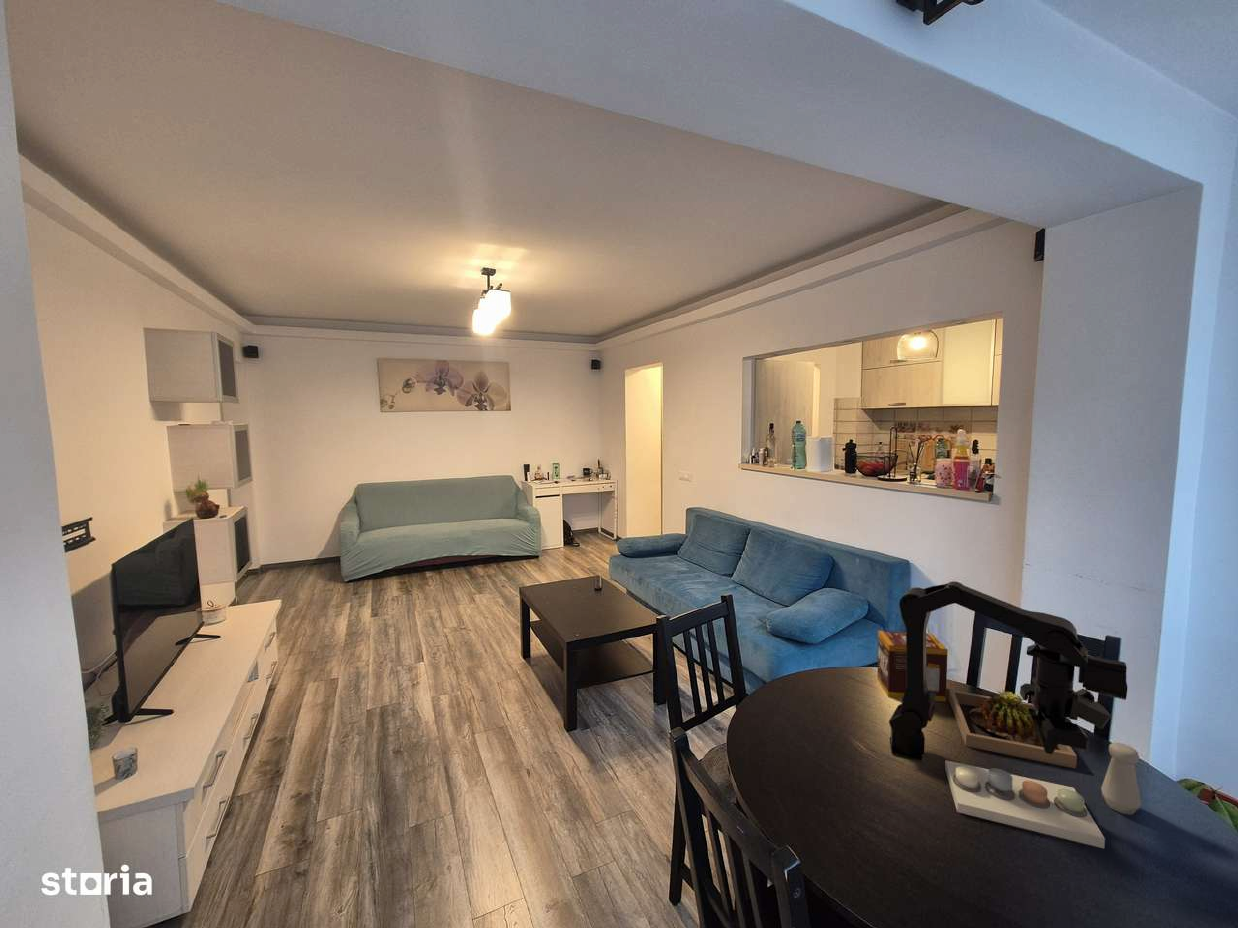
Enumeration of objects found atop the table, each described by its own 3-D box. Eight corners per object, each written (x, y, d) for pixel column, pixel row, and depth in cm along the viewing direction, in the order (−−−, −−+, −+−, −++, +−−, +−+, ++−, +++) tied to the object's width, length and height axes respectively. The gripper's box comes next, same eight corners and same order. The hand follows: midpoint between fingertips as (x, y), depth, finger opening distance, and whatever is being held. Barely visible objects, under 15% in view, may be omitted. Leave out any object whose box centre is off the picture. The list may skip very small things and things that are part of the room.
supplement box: (876, 678, 156) (877, 629, 155) (931, 683, 153) (933, 633, 152) (887, 697, 146) (888, 644, 145) (946, 702, 143) (948, 648, 141)
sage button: (1061, 809, 100) (1062, 799, 100) (1054, 795, 104) (1054, 786, 104) (1087, 815, 99) (1088, 805, 99) (1079, 800, 102) (1079, 791, 102)
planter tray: (965, 746, 124) (966, 734, 123) (949, 699, 144) (949, 689, 144) (1076, 768, 115) (1076, 755, 115) (1041, 716, 135) (1042, 705, 135)
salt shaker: (1148, 820, 100) (1153, 758, 99) (1114, 816, 102) (1118, 754, 100) (1125, 798, 106) (1129, 739, 105) (1093, 794, 107) (1097, 736, 106)
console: (957, 811, 103) (957, 800, 103) (945, 768, 116) (945, 758, 116) (1104, 848, 94) (1104, 836, 94) (1073, 796, 107) (1074, 785, 107)
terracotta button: (1025, 800, 103) (1025, 791, 103) (1019, 787, 106) (1019, 778, 106) (1050, 806, 101) (1050, 797, 101) (1043, 792, 105) (1043, 783, 105)
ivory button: (957, 785, 107) (957, 776, 107) (953, 772, 111) (954, 764, 111) (980, 790, 106) (980, 781, 106) (975, 777, 109) (976, 769, 109)
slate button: (990, 787, 105) (991, 778, 105) (986, 774, 109) (986, 766, 108) (1014, 792, 103) (1015, 783, 103) (1008, 779, 107) (1009, 770, 107)
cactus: (1063, 735, 128) (1065, 697, 127) (1036, 758, 119) (1038, 718, 118) (985, 703, 142) (986, 669, 141) (956, 721, 134) (957, 686, 133)
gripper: (1129, 714, 91) (1121, 795, 93) (1086, 667, 108) (1080, 736, 110) (1051, 700, 96) (1044, 777, 98) (1021, 657, 113) (1016, 723, 115)
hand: (1048, 752), depth 105 cm, fingers closed
